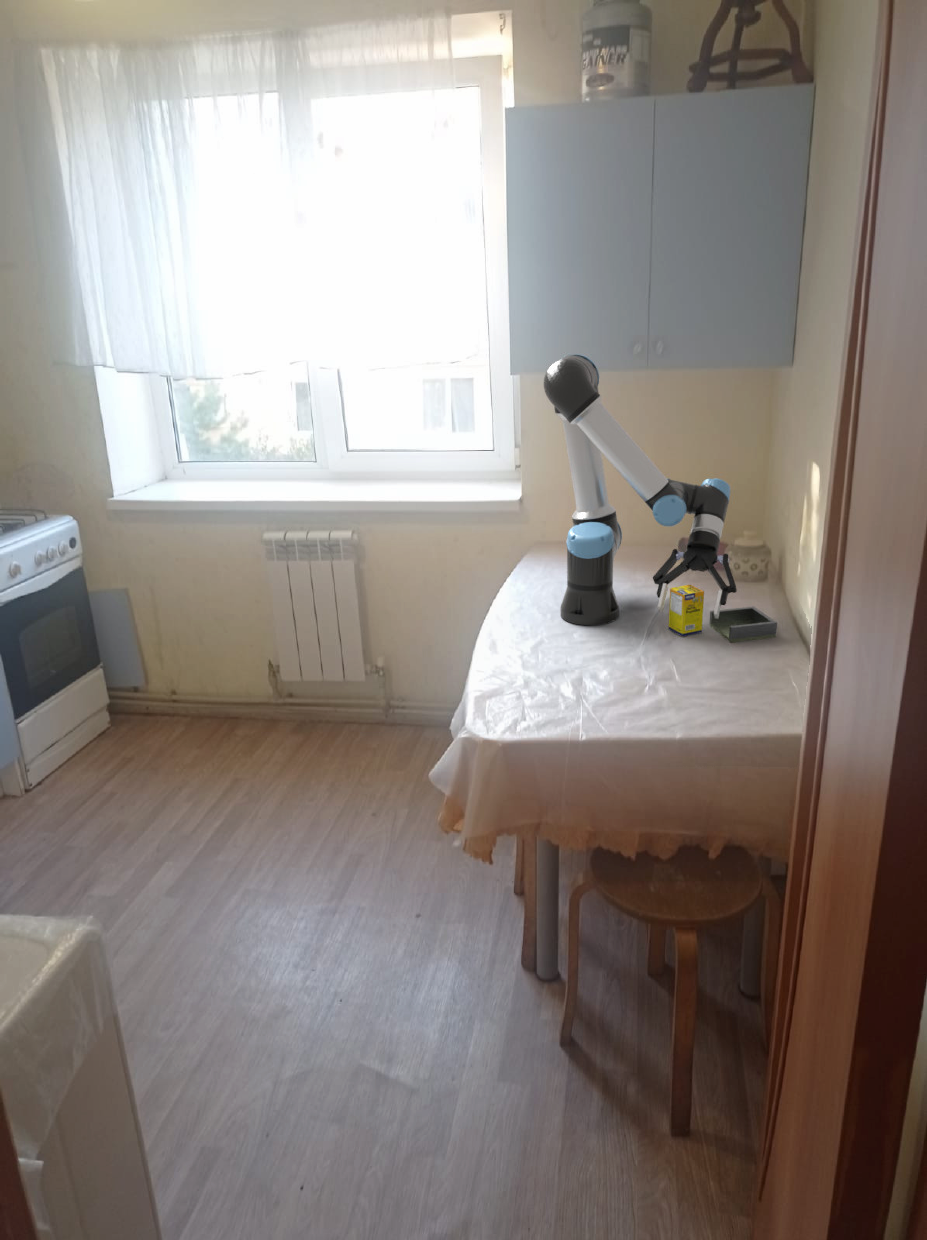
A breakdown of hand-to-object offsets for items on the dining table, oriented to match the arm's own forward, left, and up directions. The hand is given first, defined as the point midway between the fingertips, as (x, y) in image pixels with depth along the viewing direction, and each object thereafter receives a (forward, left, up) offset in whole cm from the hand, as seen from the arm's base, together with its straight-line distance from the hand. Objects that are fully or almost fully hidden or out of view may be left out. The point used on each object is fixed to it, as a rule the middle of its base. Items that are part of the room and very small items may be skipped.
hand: (687, 612), depth 214 cm
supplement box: (-1, 0, -6) cm, 6 cm away
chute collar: (+3, +13, -5) cm, 14 cm away
